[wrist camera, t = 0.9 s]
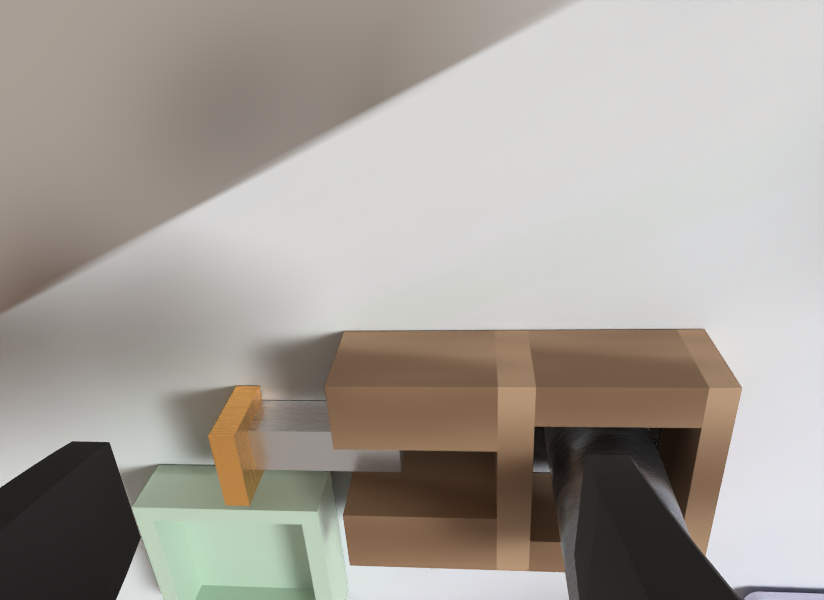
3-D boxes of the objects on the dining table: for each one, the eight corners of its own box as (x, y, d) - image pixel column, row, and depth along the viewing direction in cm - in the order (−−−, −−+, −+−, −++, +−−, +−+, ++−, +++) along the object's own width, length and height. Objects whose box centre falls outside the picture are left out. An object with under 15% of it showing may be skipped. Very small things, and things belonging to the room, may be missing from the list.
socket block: (673, 503, 22) (701, 576, 20) (364, 497, 23) (349, 565, 21) (704, 329, 19) (742, 387, 16) (343, 331, 20) (324, 386, 17)
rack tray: (348, 589, 26) (338, 637, 24) (195, 584, 26) (174, 630, 25) (330, 467, 23) (317, 511, 21) (158, 464, 23) (131, 507, 22)
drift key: (406, 453, 22) (399, 509, 20) (250, 451, 23) (225, 505, 20) (401, 386, 21) (393, 438, 19) (236, 386, 21) (207, 436, 19)
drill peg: (637, 460, 22) (703, 659, 15) (541, 459, 22) (567, 653, 16) (648, 381, 20) (726, 566, 14) (545, 381, 20) (576, 561, 14)
